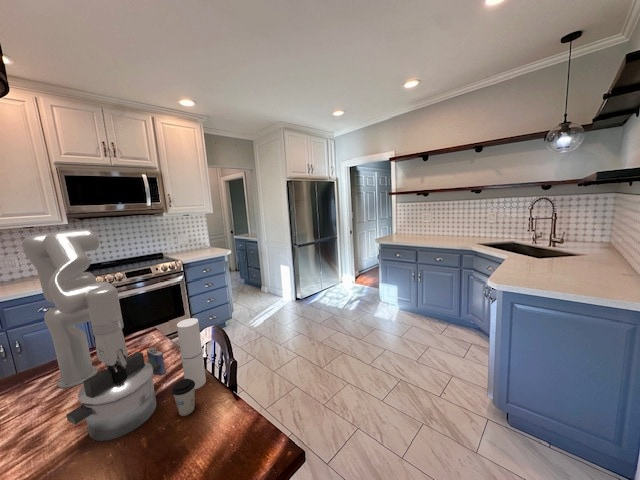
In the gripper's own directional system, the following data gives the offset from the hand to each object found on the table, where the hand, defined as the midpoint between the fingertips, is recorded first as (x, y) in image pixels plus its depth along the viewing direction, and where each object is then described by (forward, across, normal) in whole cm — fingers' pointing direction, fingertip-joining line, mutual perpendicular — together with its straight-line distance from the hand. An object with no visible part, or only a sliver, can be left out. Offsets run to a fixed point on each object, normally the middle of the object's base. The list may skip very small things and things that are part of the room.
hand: (117, 378), depth 85 cm
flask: (+14, -15, +18) cm, 27 cm away
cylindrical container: (+14, +7, +21) cm, 26 cm away
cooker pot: (+14, 0, 0) cm, 14 cm away
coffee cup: (+14, +17, +11) cm, 24 cm away
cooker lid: (+2, 0, 0) cm, 2 cm away
